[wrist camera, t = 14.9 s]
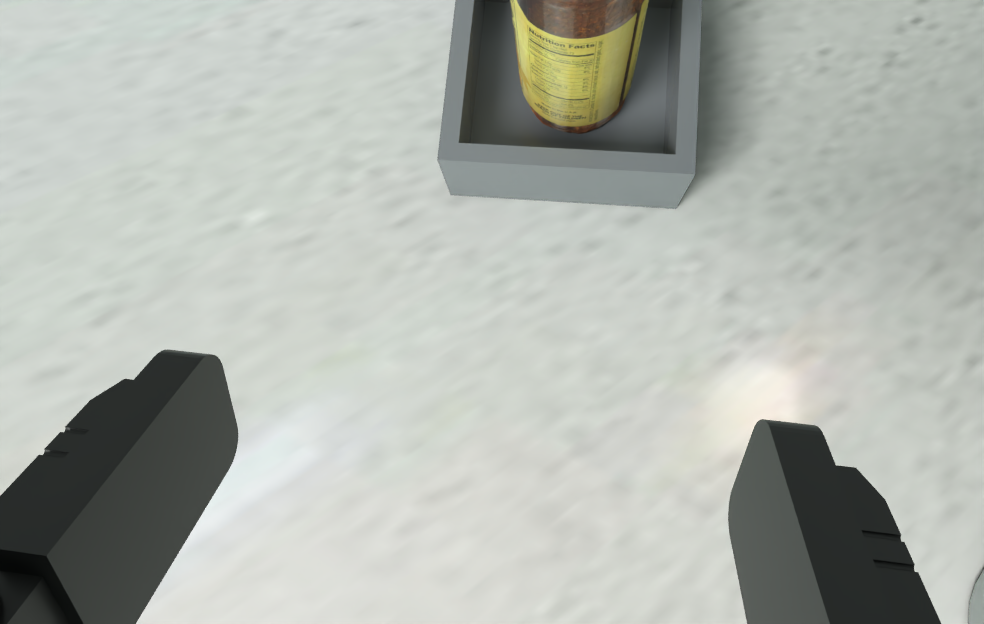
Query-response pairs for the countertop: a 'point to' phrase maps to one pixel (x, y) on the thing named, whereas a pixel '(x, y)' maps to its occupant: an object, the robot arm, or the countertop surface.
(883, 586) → the robot arm
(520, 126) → the gray tray
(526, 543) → the countertop surface
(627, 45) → the sauce bottle
